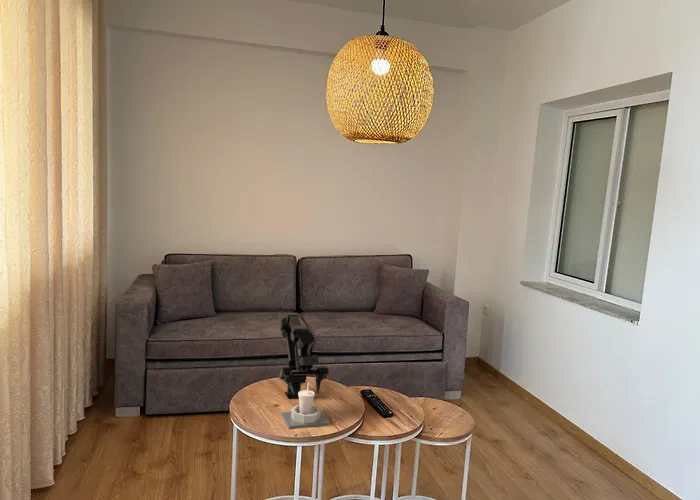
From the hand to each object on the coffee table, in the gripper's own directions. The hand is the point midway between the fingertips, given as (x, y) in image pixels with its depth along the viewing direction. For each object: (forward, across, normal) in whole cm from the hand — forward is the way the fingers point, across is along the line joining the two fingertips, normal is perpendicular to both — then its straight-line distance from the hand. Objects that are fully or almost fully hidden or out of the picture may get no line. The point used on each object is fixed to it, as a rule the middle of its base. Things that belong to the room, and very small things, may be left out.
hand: (306, 393), depth 198 cm
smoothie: (+8, 0, +5) cm, 9 cm away
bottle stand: (+8, 0, +6) cm, 10 cm away
